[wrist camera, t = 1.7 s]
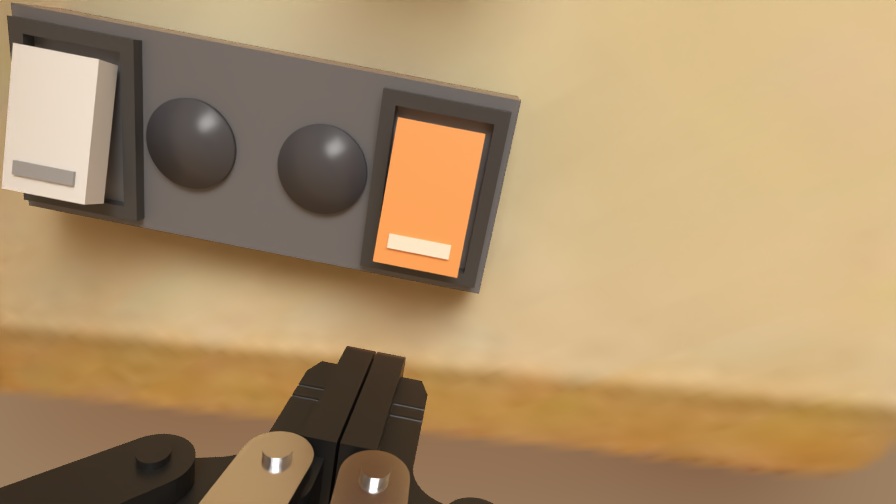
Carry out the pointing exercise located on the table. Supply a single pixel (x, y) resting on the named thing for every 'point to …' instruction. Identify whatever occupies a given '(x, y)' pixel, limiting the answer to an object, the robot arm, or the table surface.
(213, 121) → the rocker switch panel
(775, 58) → the table surface
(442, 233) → the rocker orange
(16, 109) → the rocker white
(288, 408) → the robot arm
